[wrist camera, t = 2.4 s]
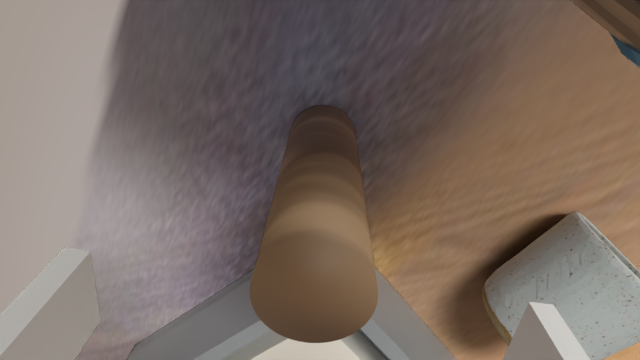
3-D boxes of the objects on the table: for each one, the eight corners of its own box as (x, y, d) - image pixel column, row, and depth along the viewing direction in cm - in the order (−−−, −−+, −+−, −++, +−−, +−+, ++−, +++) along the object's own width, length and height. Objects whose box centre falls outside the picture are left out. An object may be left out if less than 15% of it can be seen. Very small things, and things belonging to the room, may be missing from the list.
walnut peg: (329, 91, 24) (325, 219, 12) (368, 143, 26) (402, 307, 13) (276, 131, 26) (222, 286, 13) (317, 178, 27) (303, 360, 14)
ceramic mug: (459, 269, 30) (499, 359, 23) (555, 190, 27) (633, 267, 20) (553, 337, 33) (613, 436, 26) (649, 273, 30) (745, 366, 23)
